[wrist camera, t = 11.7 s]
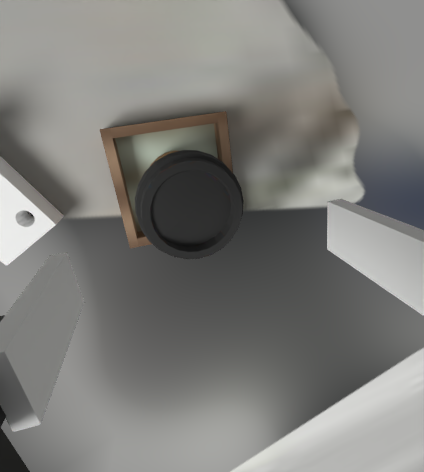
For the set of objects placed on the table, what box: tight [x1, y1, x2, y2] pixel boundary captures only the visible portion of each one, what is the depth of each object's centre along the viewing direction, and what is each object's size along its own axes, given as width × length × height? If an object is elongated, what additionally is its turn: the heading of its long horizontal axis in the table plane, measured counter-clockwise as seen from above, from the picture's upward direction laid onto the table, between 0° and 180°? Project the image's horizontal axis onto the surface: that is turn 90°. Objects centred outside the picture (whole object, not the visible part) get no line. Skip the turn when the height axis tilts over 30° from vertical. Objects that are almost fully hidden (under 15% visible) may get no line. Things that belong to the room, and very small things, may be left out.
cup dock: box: [100, 111, 233, 248], centre depth 34 cm, size 13×13×3 cm
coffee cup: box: [135, 150, 243, 259], centre depth 28 cm, size 8×8×15 cm
